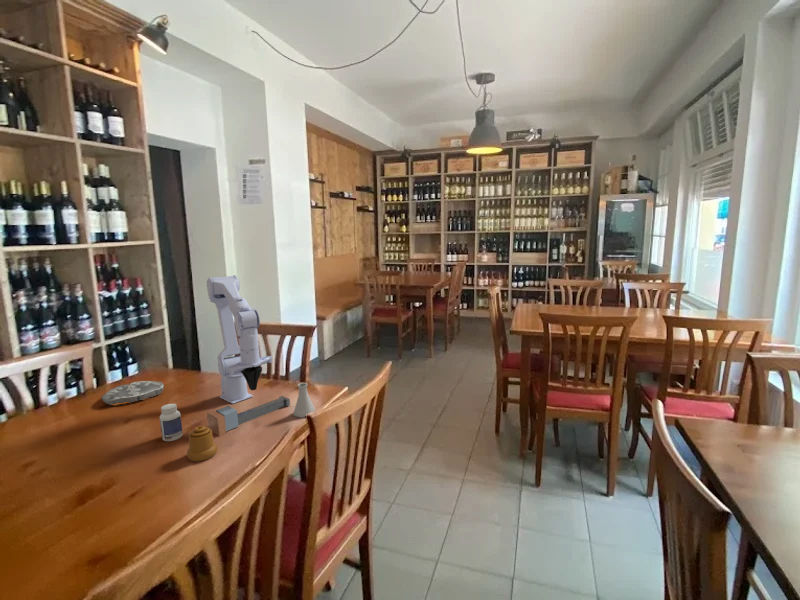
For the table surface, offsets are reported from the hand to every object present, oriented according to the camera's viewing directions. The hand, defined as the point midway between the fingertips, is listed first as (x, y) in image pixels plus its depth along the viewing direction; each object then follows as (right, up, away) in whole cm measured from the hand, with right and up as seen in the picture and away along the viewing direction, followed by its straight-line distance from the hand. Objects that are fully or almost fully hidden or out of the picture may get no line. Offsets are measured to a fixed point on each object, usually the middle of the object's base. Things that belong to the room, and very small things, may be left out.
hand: (252, 389), depth 135 cm
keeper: (-6, -10, -5) cm, 13 cm away
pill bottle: (-20, -12, -11) cm, 26 cm away
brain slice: (-52, -8, +21) cm, 56 cm away
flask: (+16, -9, +3) cm, 18 cm away
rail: (0, -9, +1) cm, 9 cm away
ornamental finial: (-6, -14, -21) cm, 26 cm away
